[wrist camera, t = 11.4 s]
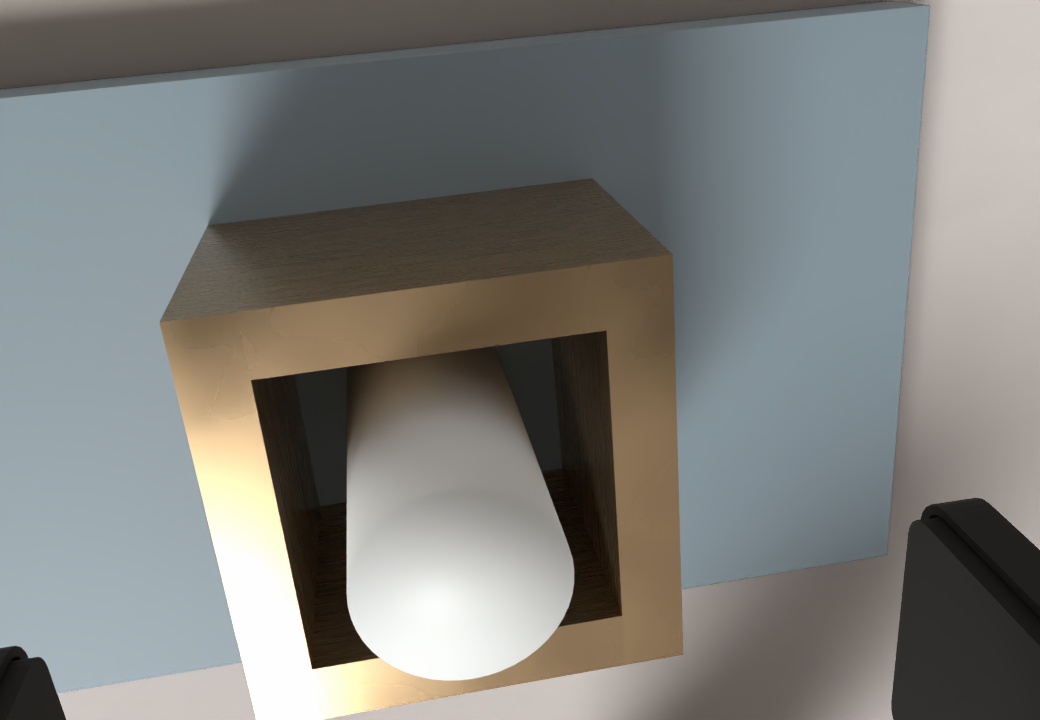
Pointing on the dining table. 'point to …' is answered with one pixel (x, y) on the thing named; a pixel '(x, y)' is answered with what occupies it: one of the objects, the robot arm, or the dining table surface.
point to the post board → (436, 125)
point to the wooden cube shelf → (413, 333)
